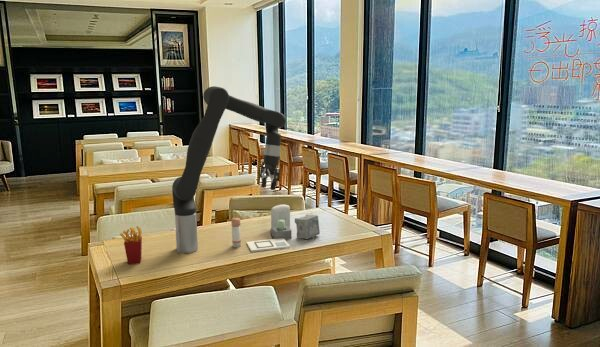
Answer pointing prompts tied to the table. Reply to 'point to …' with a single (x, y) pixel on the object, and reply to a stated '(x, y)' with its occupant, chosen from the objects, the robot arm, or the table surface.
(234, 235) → the marker
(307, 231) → the grey stone block
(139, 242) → the french fries
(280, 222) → the button
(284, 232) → the button housing
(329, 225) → the table surface
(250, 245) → the sheet
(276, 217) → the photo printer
